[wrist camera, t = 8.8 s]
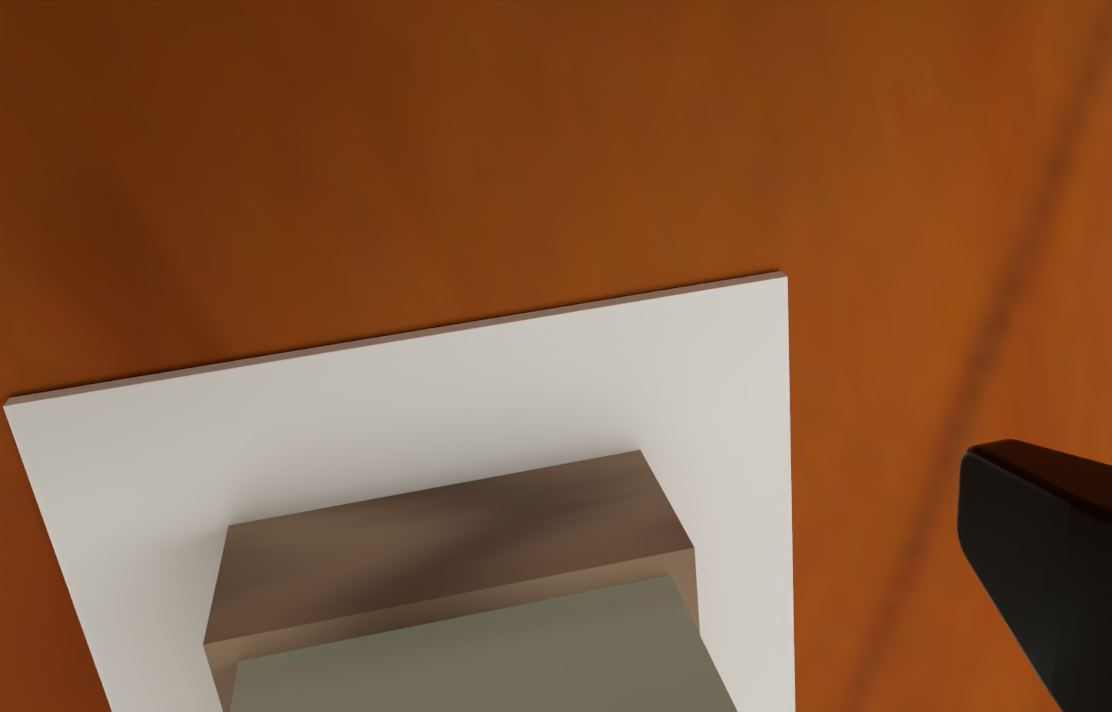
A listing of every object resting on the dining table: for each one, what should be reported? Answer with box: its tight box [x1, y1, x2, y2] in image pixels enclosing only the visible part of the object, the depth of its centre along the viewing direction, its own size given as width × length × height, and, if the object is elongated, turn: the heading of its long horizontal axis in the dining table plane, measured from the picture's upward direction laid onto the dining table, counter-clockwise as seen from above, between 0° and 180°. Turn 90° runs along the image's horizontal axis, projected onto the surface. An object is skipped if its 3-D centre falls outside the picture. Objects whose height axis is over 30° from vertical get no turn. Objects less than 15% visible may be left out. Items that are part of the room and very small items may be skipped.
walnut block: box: [203, 450, 700, 712], centre depth 22 cm, size 9×9×4 cm
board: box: [3, 271, 795, 712], centre depth 24 cm, size 16×16×1 cm
